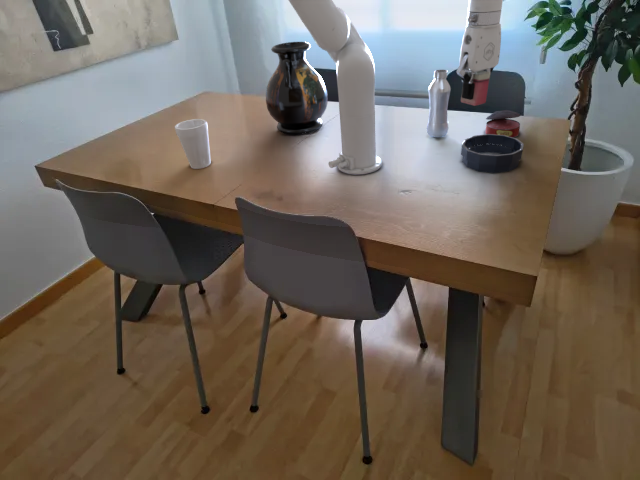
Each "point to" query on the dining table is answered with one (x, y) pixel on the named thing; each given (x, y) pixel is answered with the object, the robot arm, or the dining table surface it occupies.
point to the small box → (479, 88)
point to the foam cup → (195, 142)
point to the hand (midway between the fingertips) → (474, 95)
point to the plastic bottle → (438, 104)
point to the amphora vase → (295, 91)
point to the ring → (491, 143)
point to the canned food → (503, 123)
